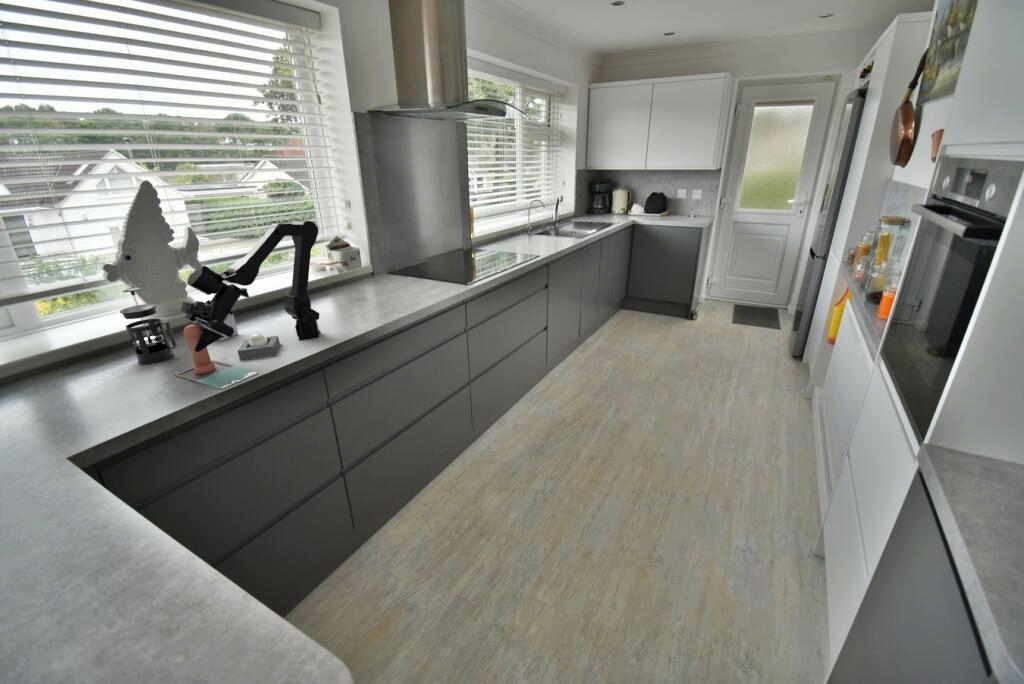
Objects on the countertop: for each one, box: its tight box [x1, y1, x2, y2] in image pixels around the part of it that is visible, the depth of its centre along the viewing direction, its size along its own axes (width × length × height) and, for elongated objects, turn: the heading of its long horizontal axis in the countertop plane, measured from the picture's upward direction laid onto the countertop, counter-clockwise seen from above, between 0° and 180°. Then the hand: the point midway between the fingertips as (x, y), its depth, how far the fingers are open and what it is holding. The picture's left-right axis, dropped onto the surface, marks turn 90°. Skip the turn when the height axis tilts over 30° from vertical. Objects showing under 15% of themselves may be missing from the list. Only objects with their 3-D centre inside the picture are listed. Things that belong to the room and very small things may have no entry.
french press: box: [119, 287, 178, 365], centre depth 141 cm, size 12×9×23 cm
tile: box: [196, 365, 256, 388], centre depth 130 cm, size 11×11×1 cm
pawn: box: [182, 324, 217, 375], centre depth 132 cm, size 5×5×14 cm
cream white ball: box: [249, 333, 268, 347], centre depth 146 cm, size 5×5×5 cm
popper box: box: [237, 335, 281, 360], centre depth 147 cm, size 10×10×3 cm
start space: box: [174, 359, 234, 383], centre depth 135 cm, size 11×11×1 cm
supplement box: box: [218, 309, 239, 342], centre depth 160 cm, size 7×7×13 cm
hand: (193, 349), depth 131 cm, fingers closed on pawn, 4 cm apart
